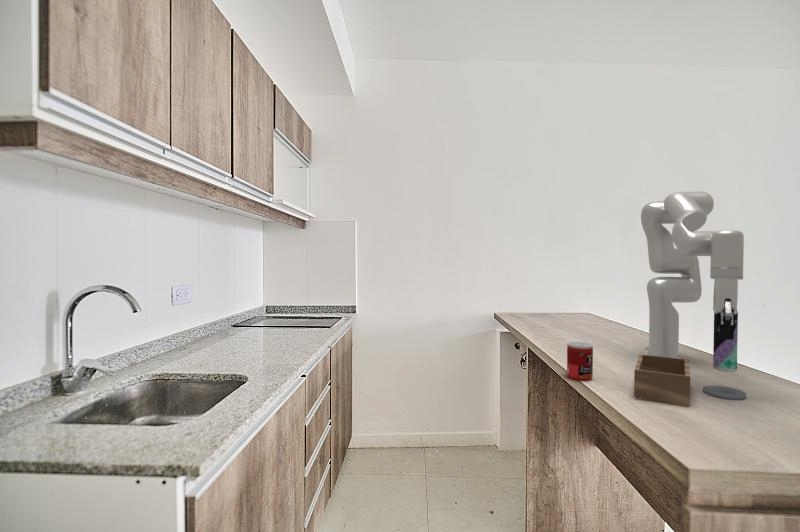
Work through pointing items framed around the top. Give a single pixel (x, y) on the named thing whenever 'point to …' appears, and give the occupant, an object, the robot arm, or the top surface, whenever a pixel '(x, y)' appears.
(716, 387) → the mat
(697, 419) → the top surface
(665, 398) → the wooden box
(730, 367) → the spray can
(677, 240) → the robot arm
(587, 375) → the canned food
